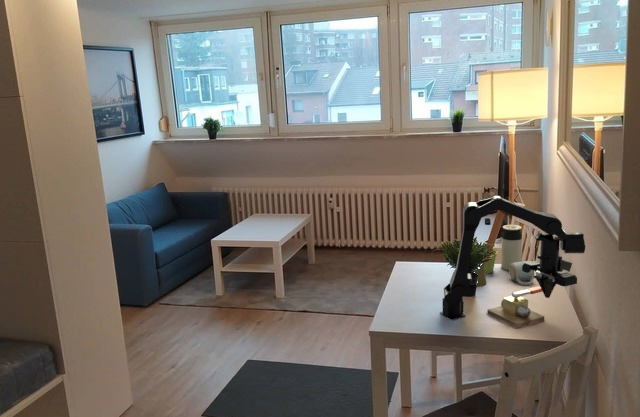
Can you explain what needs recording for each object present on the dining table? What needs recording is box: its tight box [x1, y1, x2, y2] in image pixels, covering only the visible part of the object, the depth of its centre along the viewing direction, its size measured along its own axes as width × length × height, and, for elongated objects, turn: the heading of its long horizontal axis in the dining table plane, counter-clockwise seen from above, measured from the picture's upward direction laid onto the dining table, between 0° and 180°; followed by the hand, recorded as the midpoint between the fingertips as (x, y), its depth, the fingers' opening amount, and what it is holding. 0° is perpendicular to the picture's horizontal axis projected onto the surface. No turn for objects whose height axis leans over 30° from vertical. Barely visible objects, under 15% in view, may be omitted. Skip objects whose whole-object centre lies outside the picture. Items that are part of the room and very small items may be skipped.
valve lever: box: [511, 285, 543, 298], centre depth 198 cm, size 12×3×1 cm, turn 115°
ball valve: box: [500, 295, 531, 318], centre depth 197 cm, size 6×10×6 cm, turn 25°
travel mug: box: [500, 224, 523, 271], centre depth 246 cm, size 8×8×18 cm
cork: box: [474, 262, 487, 287], centre depth 230 cm, size 6×6×11 cm
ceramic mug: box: [508, 260, 535, 286], centre depth 231 cm, size 11×8×8 cm
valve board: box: [486, 305, 545, 329], centre depth 198 cm, size 12×14×2 cm
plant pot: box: [484, 249, 498, 274], centre depth 244 cm, size 9×9×9 cm
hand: (547, 297), depth 195 cm, fingers closed
